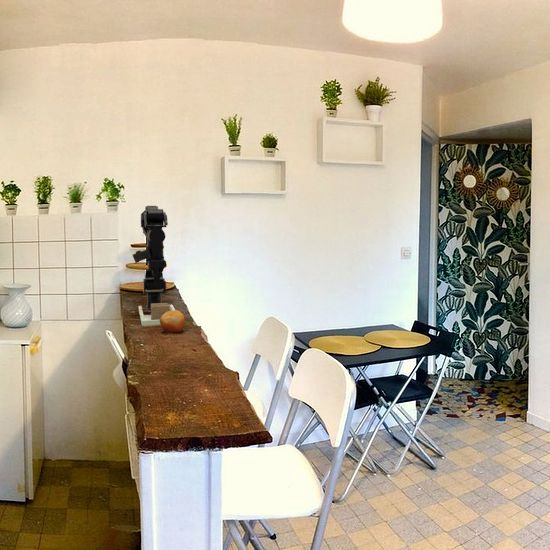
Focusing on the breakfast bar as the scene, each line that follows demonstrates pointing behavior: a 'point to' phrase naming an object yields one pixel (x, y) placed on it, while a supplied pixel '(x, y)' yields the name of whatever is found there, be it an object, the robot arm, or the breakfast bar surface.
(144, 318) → the trap channel
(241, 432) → the breakfast bar surface
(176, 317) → the fruit
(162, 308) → the walnut block
